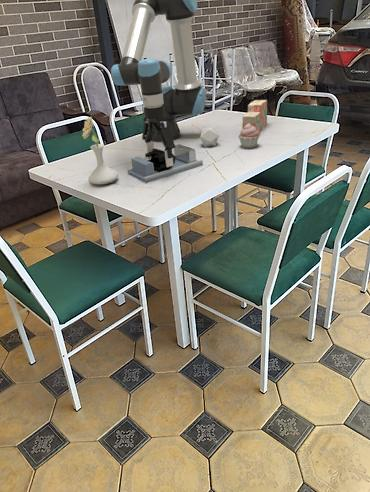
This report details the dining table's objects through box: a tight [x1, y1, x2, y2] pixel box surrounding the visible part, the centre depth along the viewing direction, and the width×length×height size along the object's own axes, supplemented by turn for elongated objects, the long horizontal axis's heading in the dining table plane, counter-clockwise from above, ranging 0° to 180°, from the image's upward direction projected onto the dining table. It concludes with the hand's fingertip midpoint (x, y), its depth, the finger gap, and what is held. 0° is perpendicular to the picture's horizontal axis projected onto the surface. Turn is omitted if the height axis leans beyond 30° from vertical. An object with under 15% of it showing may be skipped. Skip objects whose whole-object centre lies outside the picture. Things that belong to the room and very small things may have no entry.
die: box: [199, 126, 220, 148], centre depth 189 cm, size 8×9×10 cm
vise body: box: [127, 156, 204, 184], centre depth 166 cm, size 14×26×6 cm, turn 124°
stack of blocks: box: [241, 99, 268, 133], centre depth 203 cm, size 21×6×12 cm, turn 156°
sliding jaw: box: [173, 143, 197, 163], centre depth 171 cm, size 11×6×5 cm, turn 34°
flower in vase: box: [82, 116, 119, 186], centre depth 155 cm, size 13×11×25 cm
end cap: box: [144, 148, 175, 172], centre depth 164 cm, size 10×7×7 cm
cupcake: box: [238, 123, 261, 149], centre depth 182 cm, size 9×9×10 cm
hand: (160, 162), depth 165 cm, fingers open, 13 cm apart
